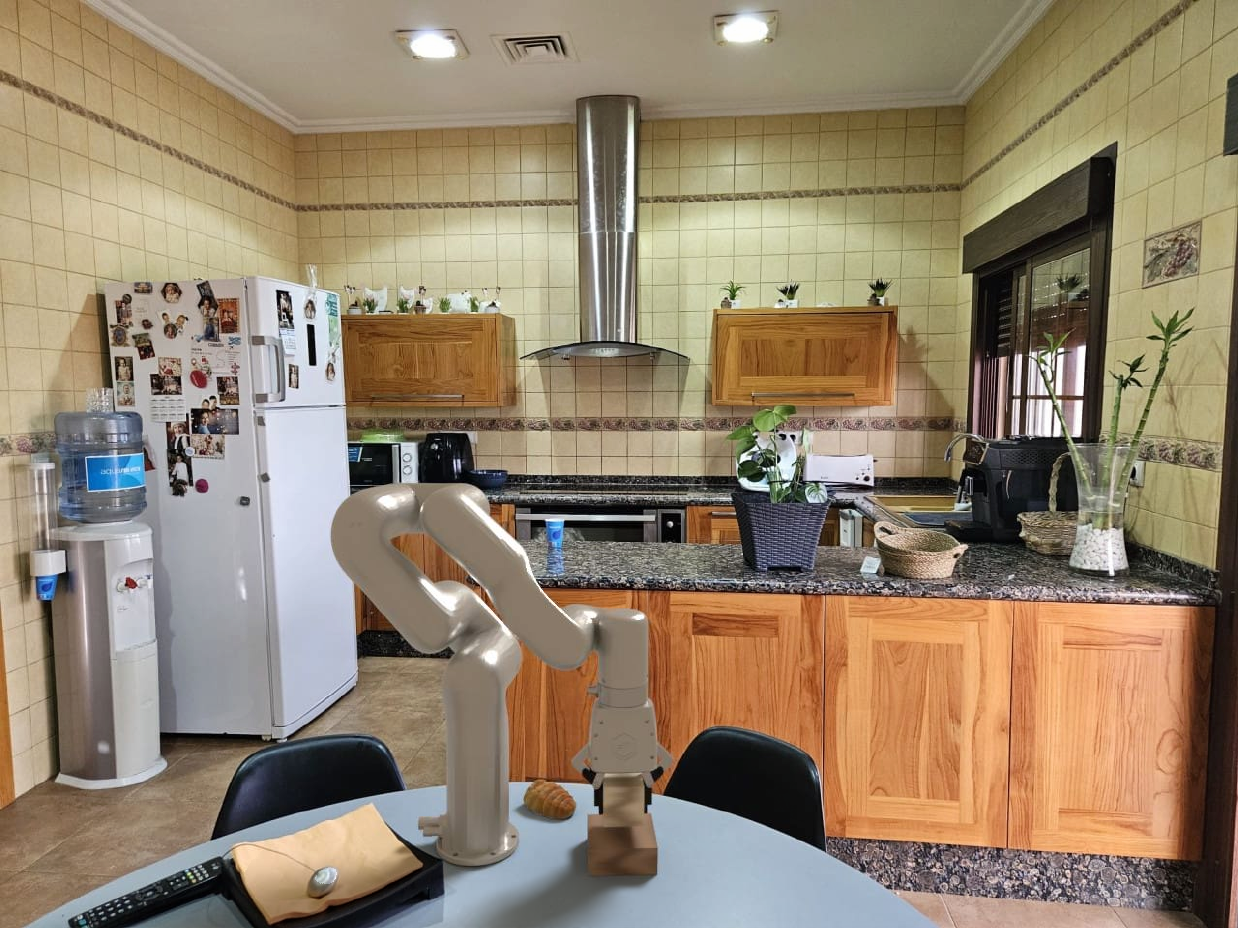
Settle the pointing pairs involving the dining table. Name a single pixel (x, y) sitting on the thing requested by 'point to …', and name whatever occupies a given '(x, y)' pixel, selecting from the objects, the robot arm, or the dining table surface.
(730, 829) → the dining table surface
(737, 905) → the dining table surface
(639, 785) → the maple cube
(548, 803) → the pastry
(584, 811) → the dining table surface
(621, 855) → the walnut base
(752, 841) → the dining table surface
